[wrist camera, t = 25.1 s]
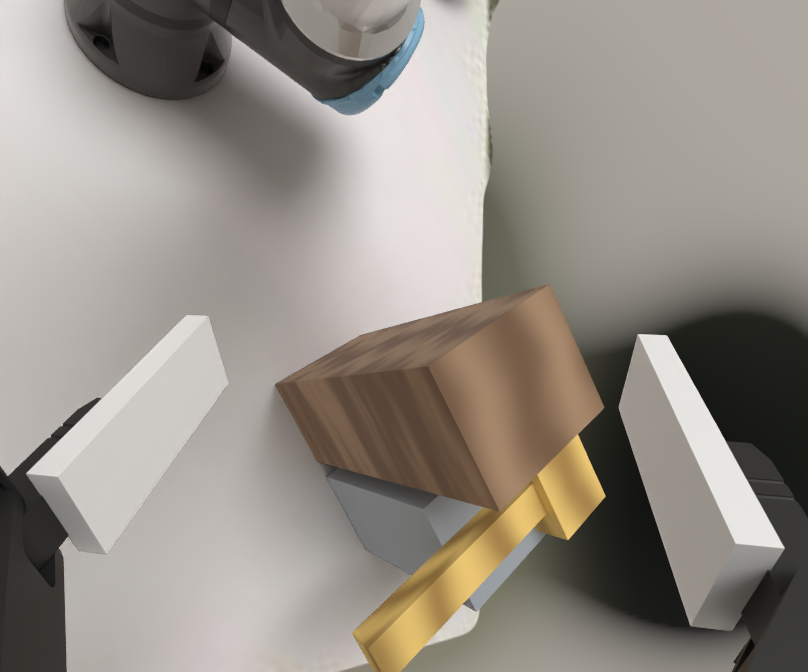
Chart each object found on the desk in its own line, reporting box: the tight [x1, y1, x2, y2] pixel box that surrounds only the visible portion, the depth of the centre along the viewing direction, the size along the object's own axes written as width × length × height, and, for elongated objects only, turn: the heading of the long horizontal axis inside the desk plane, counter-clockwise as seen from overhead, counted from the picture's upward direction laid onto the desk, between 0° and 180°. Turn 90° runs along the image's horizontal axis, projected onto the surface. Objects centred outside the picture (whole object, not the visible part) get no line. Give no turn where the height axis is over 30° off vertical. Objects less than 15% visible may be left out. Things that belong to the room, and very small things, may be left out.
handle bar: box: [352, 434, 605, 672], centre depth 39 cm, size 24×8×4 cm, turn 121°
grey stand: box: [326, 467, 546, 612], centre depth 51 cm, size 14×10×20 cm
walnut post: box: [275, 284, 604, 512], centre depth 44 cm, size 12×10×30 cm
